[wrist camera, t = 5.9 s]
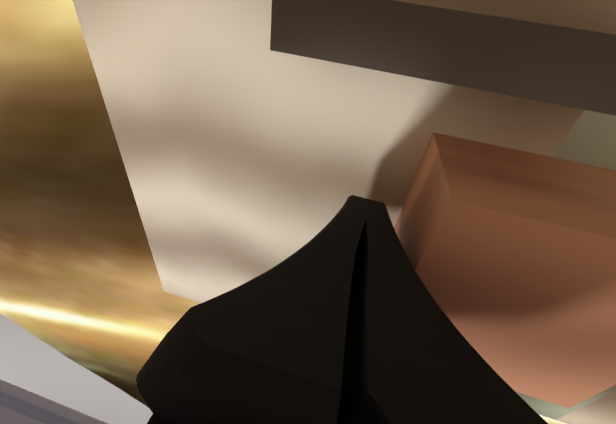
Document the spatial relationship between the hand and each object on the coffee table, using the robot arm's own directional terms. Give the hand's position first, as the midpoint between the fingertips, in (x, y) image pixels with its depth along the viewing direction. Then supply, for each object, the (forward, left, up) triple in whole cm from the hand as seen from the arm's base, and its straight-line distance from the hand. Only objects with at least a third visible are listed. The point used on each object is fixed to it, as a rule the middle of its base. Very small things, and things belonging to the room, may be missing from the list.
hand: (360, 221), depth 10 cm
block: (0, -4, -1) cm, 5 cm away
